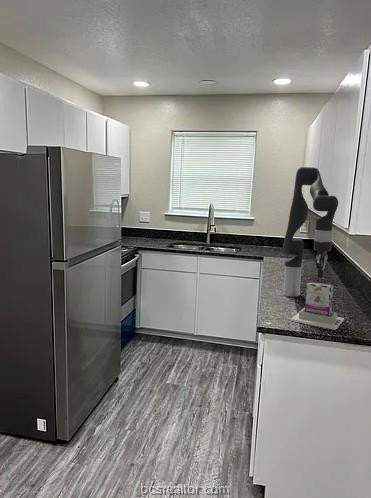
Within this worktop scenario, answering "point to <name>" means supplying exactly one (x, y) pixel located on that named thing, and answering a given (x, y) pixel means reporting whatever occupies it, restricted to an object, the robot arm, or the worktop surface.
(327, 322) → the socket board
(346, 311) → the worktop surface
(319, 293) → the candy bar box
